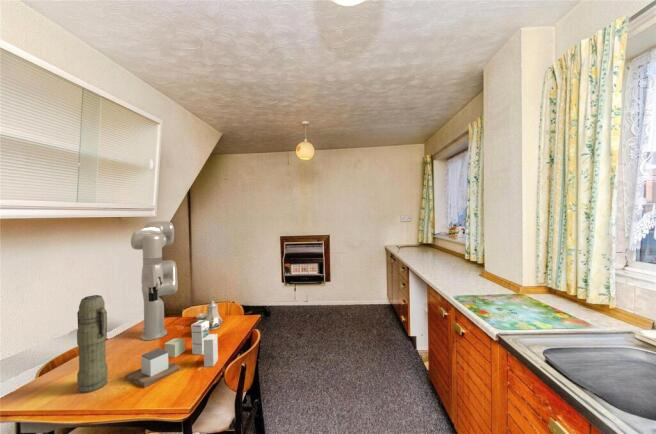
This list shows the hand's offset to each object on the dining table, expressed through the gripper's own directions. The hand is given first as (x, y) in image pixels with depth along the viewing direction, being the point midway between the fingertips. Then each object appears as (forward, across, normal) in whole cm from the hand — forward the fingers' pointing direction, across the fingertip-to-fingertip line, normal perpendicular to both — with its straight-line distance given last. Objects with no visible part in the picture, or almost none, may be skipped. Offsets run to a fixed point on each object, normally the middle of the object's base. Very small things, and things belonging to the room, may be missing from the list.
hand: (153, 300), depth 127 cm
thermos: (+27, +1, -23) cm, 36 cm away
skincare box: (+27, +28, +10) cm, 40 cm away
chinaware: (+29, -10, +36) cm, 47 cm away
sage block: (+28, +4, +8) cm, 29 cm away
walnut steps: (+27, +13, -7) cm, 31 cm away
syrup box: (+27, +14, +15) cm, 34 cm away
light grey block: (+18, +14, -7) cm, 24 cm away
